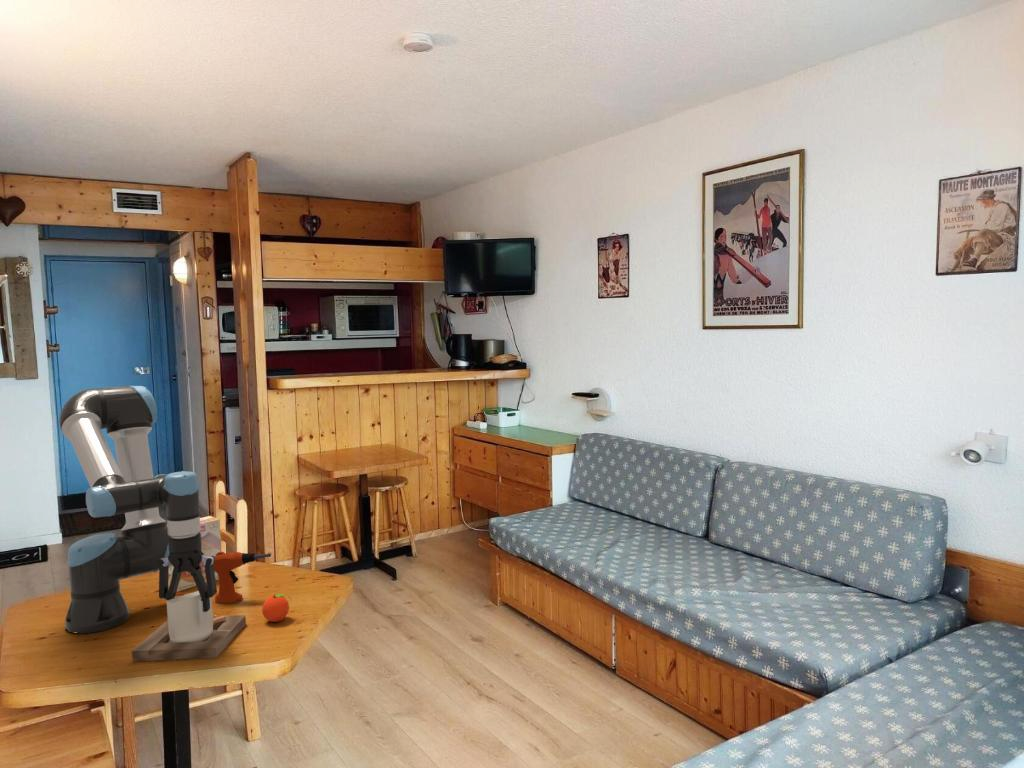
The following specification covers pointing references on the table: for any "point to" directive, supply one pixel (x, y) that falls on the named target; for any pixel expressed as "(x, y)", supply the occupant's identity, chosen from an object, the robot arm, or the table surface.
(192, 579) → the coffeecake box
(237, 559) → the toy drill
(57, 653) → the table surface
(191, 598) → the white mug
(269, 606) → the clementine
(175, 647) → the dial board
